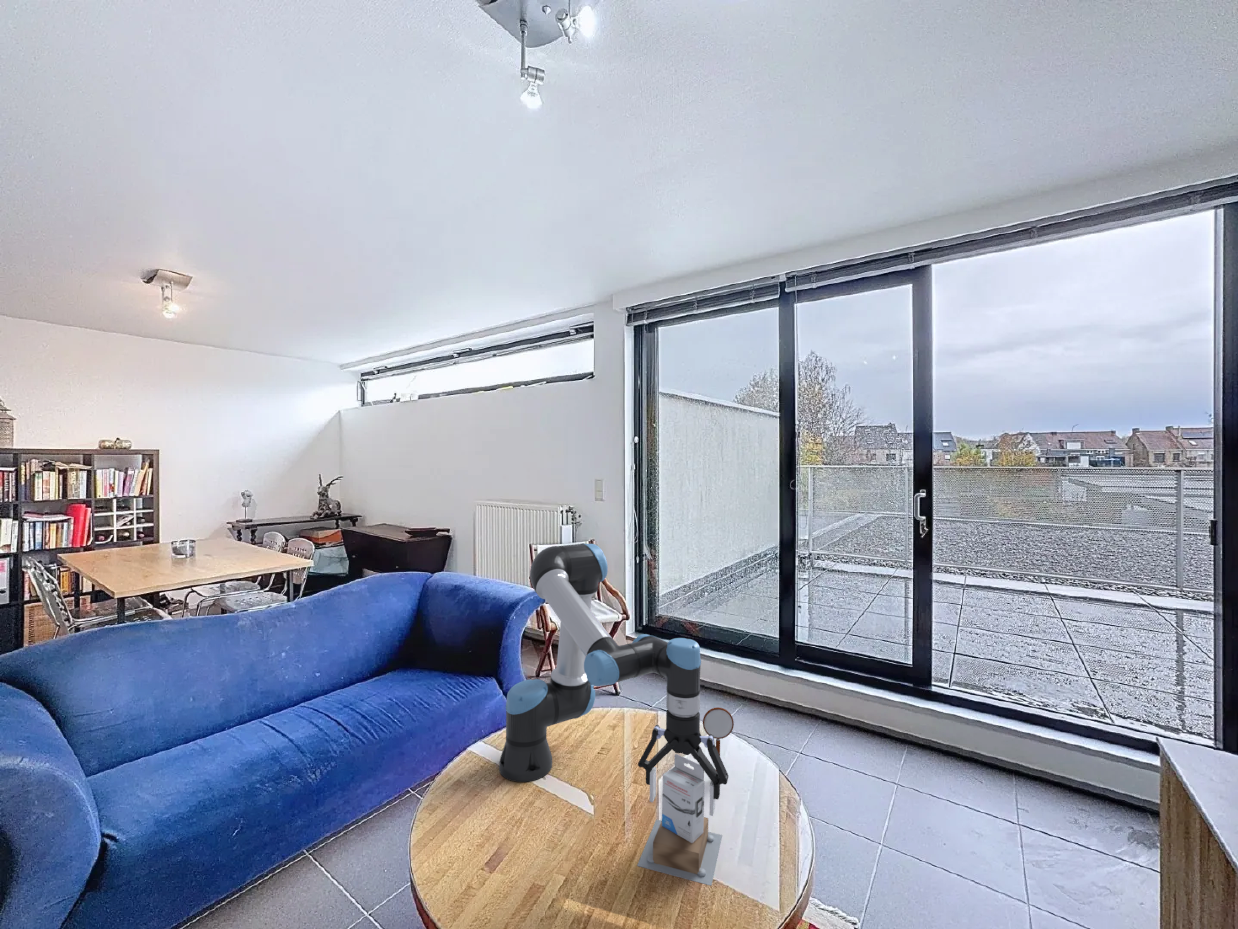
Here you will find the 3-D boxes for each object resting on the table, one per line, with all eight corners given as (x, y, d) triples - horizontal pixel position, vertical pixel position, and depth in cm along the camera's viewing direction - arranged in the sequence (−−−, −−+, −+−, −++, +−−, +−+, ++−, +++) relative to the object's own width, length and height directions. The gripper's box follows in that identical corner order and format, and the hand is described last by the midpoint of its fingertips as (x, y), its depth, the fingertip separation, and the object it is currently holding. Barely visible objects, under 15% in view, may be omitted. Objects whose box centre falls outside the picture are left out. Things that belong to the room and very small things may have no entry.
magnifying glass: (732, 778, 149) (733, 706, 149) (733, 781, 147) (734, 709, 147) (701, 777, 149) (702, 705, 149) (702, 780, 147) (703, 708, 148)
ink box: (660, 826, 120) (661, 761, 120) (673, 816, 123) (674, 752, 124) (692, 844, 114) (693, 775, 114) (704, 833, 118) (705, 766, 118)
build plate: (636, 871, 114) (637, 863, 114) (656, 824, 129) (656, 817, 129) (711, 891, 108) (711, 883, 108) (722, 840, 124) (722, 833, 124)
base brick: (652, 862, 115) (653, 842, 115) (666, 827, 126) (666, 808, 126) (698, 874, 111) (698, 853, 111) (708, 837, 123) (708, 818, 123)
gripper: (625, 708, 120) (624, 803, 119) (737, 727, 111) (736, 828, 111) (635, 695, 127) (634, 784, 126) (741, 712, 118) (740, 807, 118)
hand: (681, 805), depth 119 cm, fingers open, 13 cm apart
